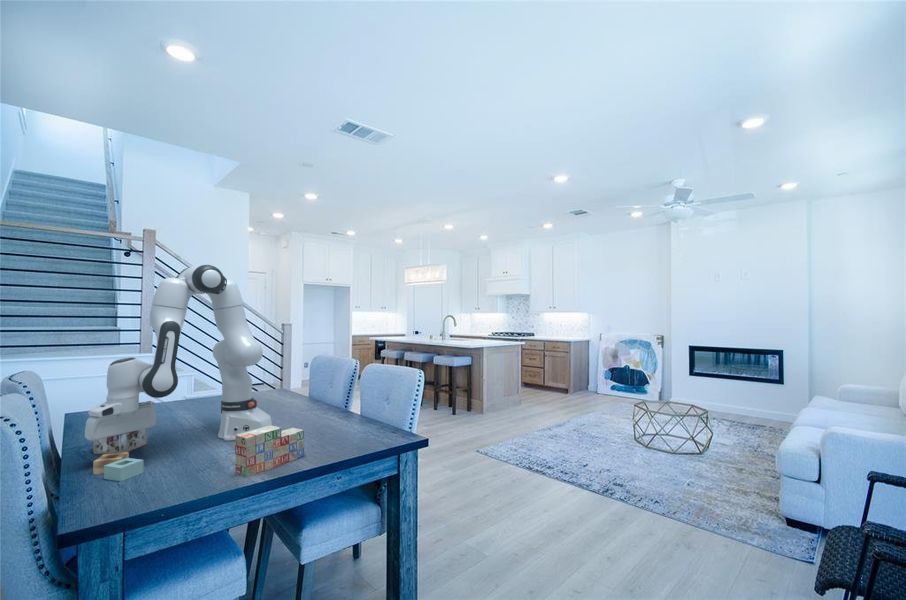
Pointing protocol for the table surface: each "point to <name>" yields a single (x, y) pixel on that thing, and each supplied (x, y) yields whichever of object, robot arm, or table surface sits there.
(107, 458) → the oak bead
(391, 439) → the table surface
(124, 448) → the steel needle peg
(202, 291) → the robot arm
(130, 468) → the green block with hole
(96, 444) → the decorative jar
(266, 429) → the stack of blocks
